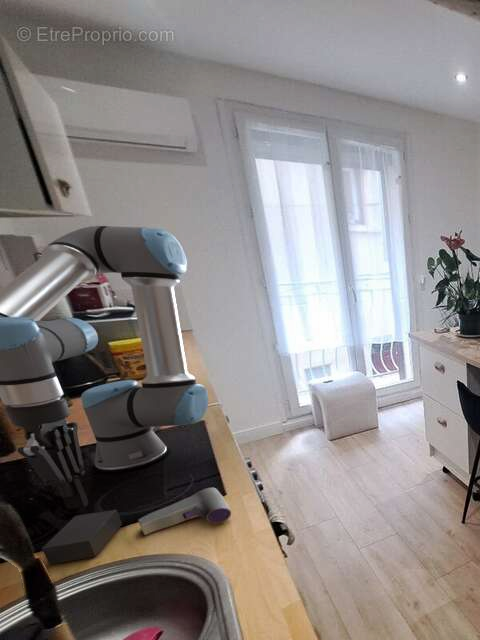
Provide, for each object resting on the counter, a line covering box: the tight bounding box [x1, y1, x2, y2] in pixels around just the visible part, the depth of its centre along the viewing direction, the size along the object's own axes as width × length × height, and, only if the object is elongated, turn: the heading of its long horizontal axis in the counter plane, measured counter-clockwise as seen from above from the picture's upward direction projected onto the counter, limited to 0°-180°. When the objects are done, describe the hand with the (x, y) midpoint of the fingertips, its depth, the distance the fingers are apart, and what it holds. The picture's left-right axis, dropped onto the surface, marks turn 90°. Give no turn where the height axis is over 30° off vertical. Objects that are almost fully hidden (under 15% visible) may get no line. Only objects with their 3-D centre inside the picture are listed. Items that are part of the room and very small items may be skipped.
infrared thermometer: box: [137, 487, 232, 536], centre depth 94 cm, size 5×12×15 cm
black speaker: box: [41, 509, 123, 566], centre depth 86 cm, size 4×7×11 cm
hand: (78, 506), depth 85 cm, fingers closed
